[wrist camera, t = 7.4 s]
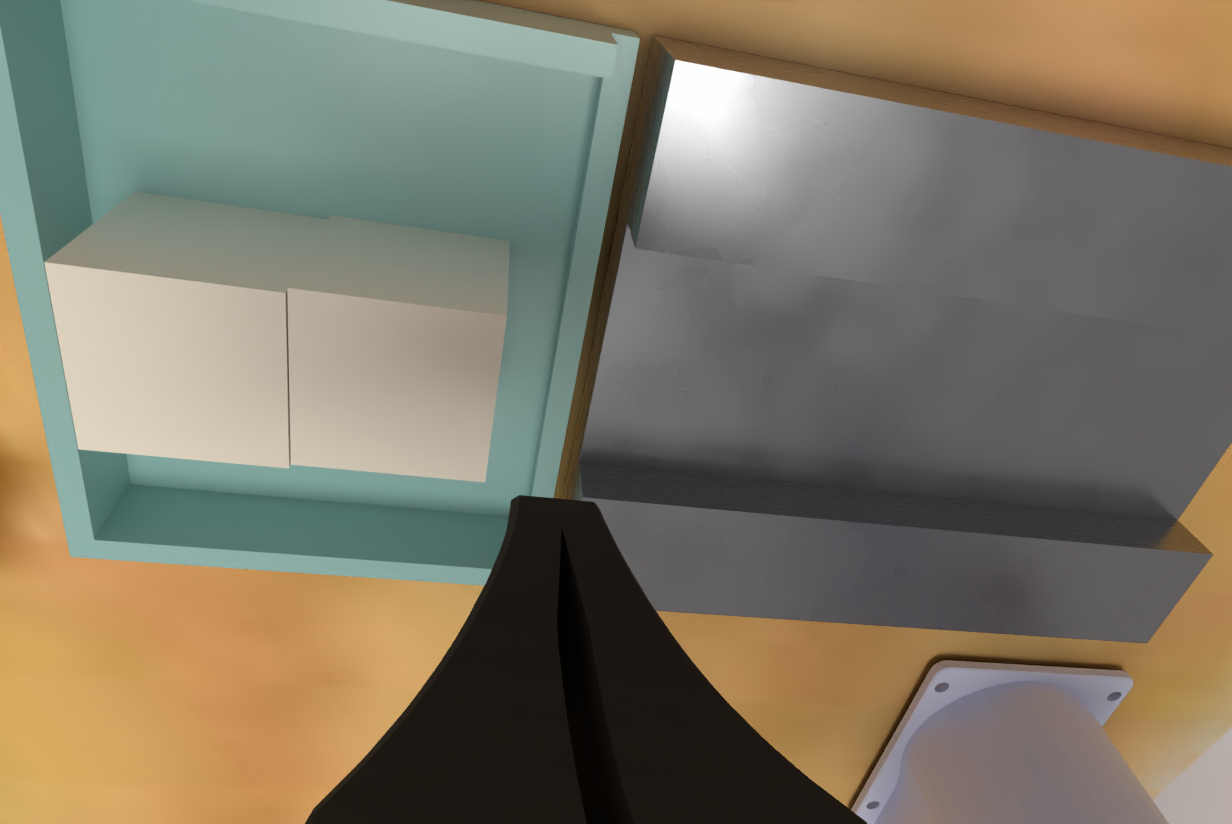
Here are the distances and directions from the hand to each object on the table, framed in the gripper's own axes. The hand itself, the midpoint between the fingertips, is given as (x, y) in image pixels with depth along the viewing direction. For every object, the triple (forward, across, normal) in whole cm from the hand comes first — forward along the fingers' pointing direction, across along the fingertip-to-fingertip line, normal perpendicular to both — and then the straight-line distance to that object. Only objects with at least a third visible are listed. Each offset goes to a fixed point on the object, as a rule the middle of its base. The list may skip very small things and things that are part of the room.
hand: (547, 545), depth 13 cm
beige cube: (+8, +7, 0) cm, 11 cm away
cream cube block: (+8, +3, 0) cm, 9 cm away
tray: (+8, +5, 0) cm, 10 cm away
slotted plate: (+8, -10, 0) cm, 13 cm away
